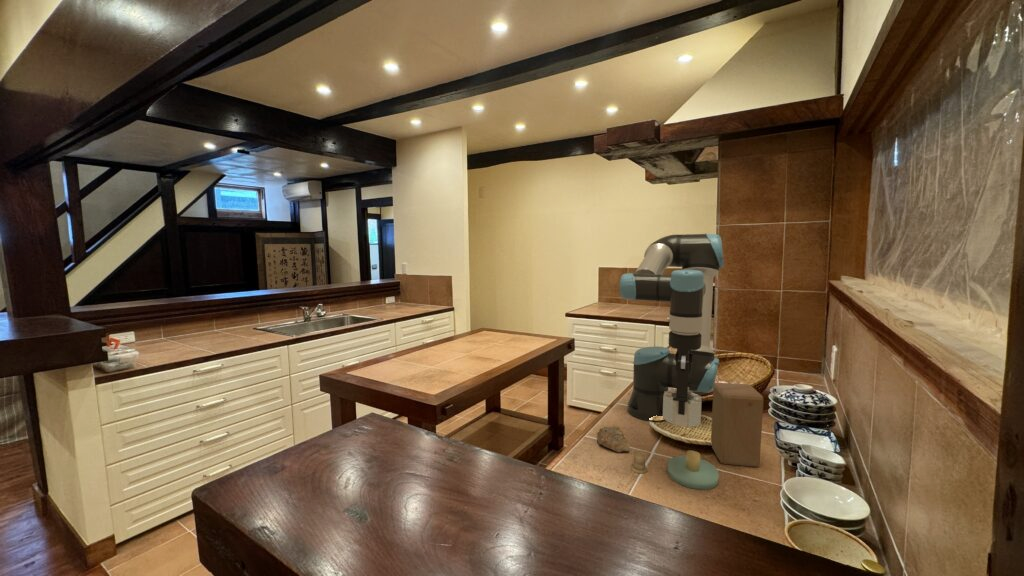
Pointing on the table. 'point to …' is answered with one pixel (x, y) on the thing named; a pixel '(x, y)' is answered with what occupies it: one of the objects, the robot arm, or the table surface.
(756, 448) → the wooden block
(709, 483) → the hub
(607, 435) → the rock
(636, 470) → the stand
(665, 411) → the collar ring
